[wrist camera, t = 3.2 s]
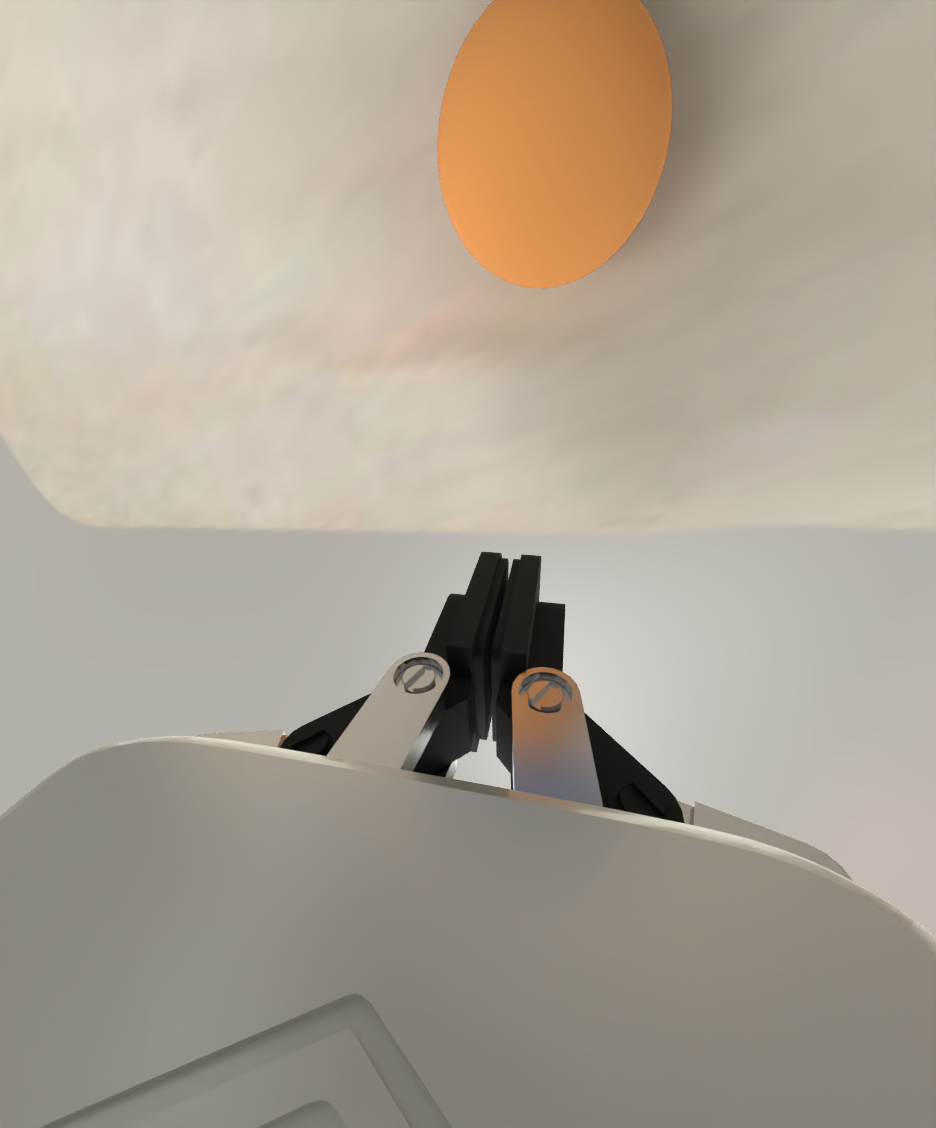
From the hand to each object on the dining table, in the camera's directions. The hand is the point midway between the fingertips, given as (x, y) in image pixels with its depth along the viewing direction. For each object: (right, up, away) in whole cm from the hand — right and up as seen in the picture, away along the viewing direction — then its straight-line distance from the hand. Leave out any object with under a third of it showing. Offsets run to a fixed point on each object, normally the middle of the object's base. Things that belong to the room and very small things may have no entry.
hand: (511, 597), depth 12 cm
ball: (+1, +10, -3) cm, 10 cm away
